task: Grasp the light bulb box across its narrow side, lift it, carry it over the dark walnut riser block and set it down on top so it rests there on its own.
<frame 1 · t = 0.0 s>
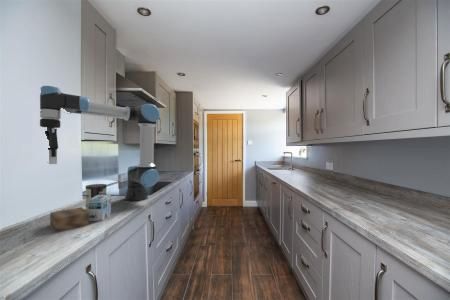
hand: (50, 163, 99), 28 cm above the table, fingers open, 13 cm apart
walnut riser: (69, 225, 95), on the table
coffee can: (96, 210, 118), on the table
light bulb box: (100, 217, 105), on the table
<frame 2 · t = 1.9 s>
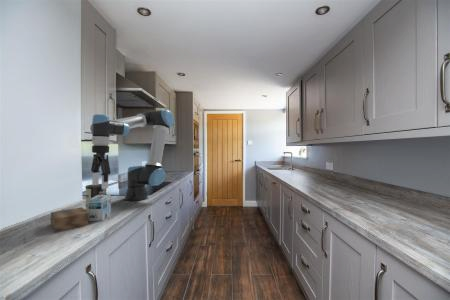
hand: (99, 186, 105), 16 cm above the table, fingers open, 13 cm apart
nothing on the table moved.
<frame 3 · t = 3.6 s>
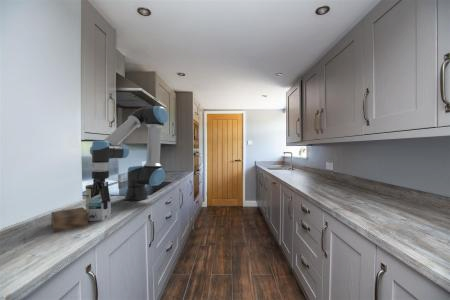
hand: (100, 212, 105), 2 cm above the table, fingers closed on light bulb box, 12 cm apart
light bulb box: (100, 217, 105), on the table, touching gripper
everything else where it was.
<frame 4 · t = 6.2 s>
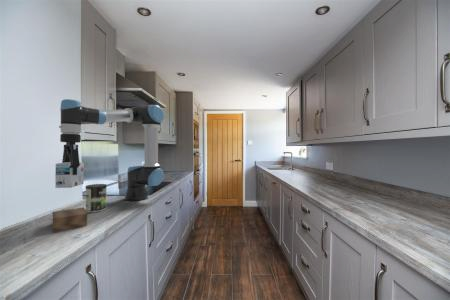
hand: (70, 180, 94), 20 cm above the table, fingers closed on light bulb box, 12 cm apart
light bulb box: (70, 186, 94), point 18 cm above the table, touching gripper
everything else where it was.
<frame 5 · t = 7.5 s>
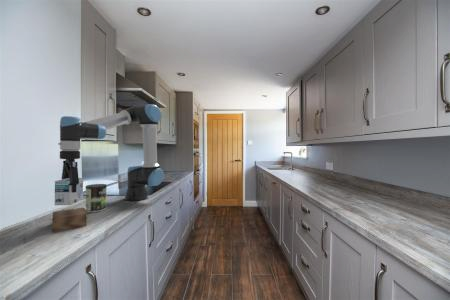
hand: (69, 197, 94), 13 cm above the table, fingers closed on light bulb box, 12 cm apart
light bulb box: (69, 202, 94), point 10 cm above the table, touching gripper
everything else where it was.
when the fingers open (10 cm above the table, at t = 8.8 s): light bulb box drops 2 cm, resting on walnut riser.
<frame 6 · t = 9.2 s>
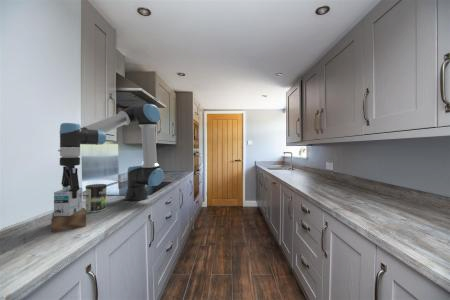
hand: (69, 202, 94), 10 cm above the table, fingers open, 13 cm apart
walnut riser: (69, 225, 94), on the table, touching light bulb box
light bulb box: (68, 213, 94), point 5 cm above the table, touching walnut riser
everything else where it was.
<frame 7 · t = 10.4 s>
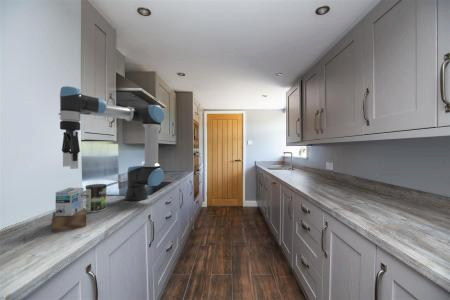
hand: (70, 167, 94), 27 cm above the table, fingers open, 13 cm apart
nothing on the table moved.
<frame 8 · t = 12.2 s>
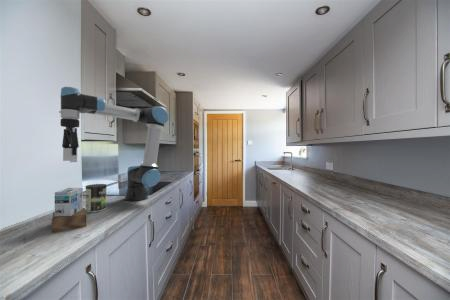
hand: (69, 161, 102), 29 cm above the table, fingers open, 13 cm apart
nothing on the table moved.
at the end: light bulb box inside the target area on the walnut riser (0.4 cm from its centre), point 5.8 cm above the walnut riser's base; light bulb box tilted 0°; the gripper is holding nothing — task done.
